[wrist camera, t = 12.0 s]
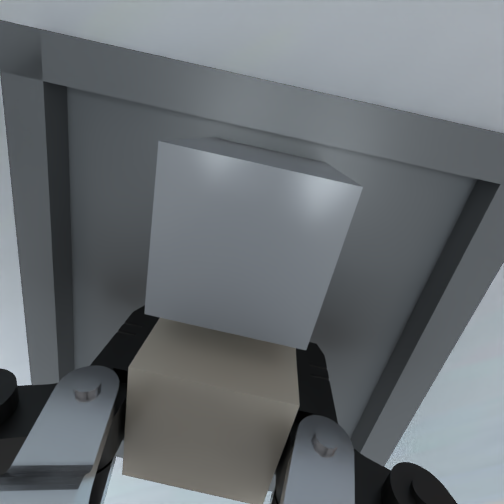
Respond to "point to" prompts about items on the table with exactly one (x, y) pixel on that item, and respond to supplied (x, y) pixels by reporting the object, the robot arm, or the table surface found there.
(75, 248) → the tray
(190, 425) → the off-white cubic block
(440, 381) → the table surface
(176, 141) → the light gray block
